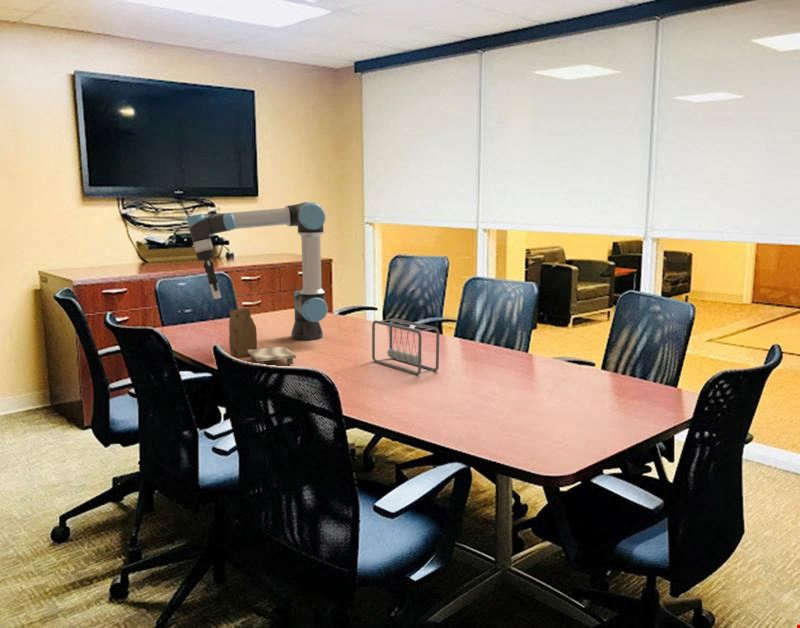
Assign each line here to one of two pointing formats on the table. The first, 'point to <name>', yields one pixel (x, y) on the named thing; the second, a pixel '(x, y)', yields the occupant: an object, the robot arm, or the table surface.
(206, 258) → the robot arm
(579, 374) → the table surface
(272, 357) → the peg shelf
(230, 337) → the block
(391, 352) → the newton's cradle
